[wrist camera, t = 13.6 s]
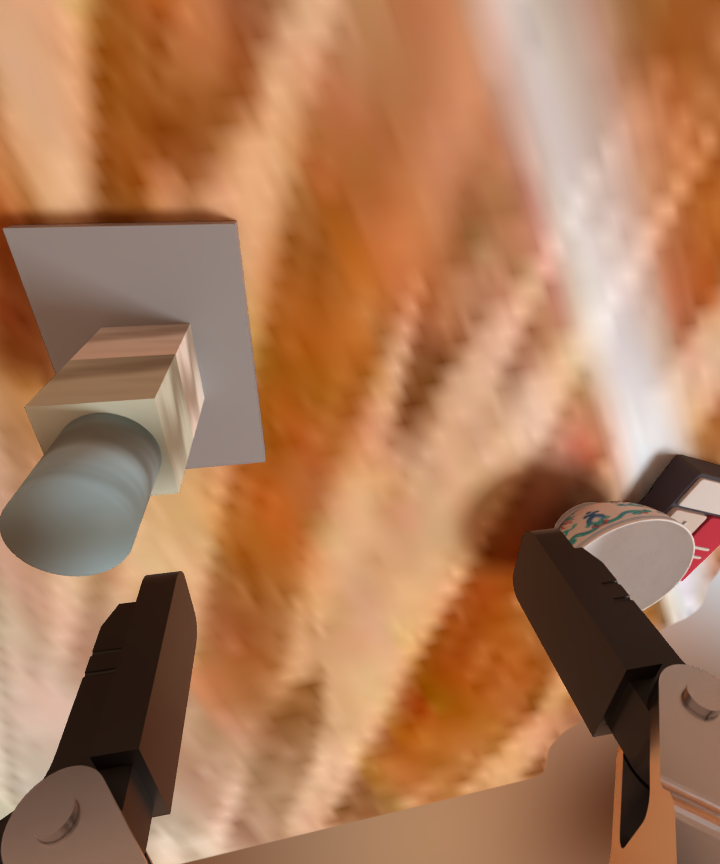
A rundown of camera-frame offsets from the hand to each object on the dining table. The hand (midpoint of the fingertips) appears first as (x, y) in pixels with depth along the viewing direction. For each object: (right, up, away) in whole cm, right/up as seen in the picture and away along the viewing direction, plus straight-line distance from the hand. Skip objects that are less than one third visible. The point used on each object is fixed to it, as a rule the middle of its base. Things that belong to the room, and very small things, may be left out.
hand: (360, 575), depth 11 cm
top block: (-14, +5, +18) cm, 24 cm away
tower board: (-15, +9, +25) cm, 31 cm away
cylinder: (-13, +2, +13) cm, 19 cm away
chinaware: (+25, -7, +43) cm, 50 cm away
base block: (-15, +8, +23) cm, 29 cm away
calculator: (+37, -6, +45) cm, 58 cm away
